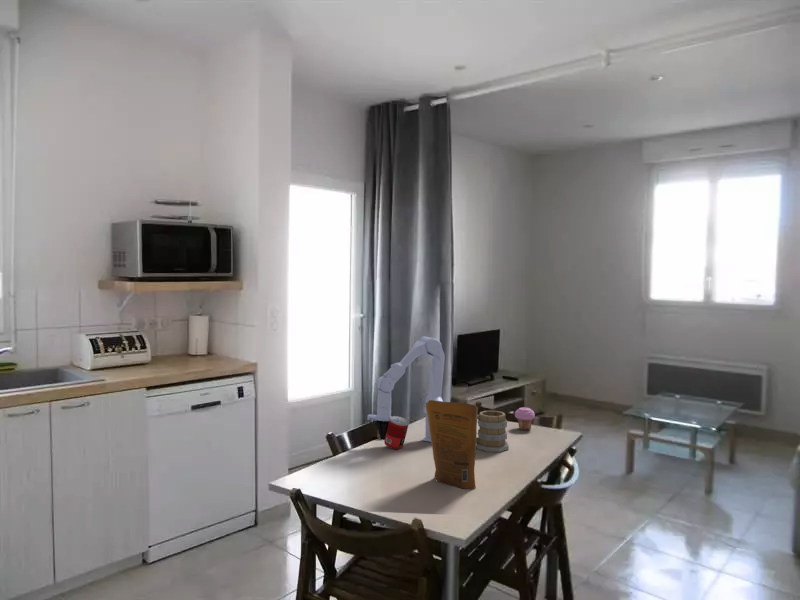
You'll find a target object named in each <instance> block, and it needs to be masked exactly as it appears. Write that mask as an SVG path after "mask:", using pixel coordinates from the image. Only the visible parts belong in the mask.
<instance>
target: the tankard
mask: <svg viewBox="0 0 800 600" xmlns="http://www.w3.org/2000/svg"><path fill="white" fill-rule="evenodd" d="M477 425H478V427H479V429H477V436H476V449H477V450H479V449H480V451H483V450H484V452H486V451H487V452H486V453H502V452H505V451H508V450H509V443H508V441H506V440H507V439H508V432H507V430H506V428H507V427H508V421H507V418H506V413H505V411H504V412H503V411H498V410H483V411H480V412H479V414H477ZM504 450H505V451H504ZM501 451H502V452H501Z"/></svg>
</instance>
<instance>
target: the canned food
mask: <svg viewBox="0 0 800 600" xmlns="http://www.w3.org/2000/svg"><path fill="white" fill-rule="evenodd" d="M391 416H392V415H391ZM393 418H400V419H401V421H399V422H398V421H395V420H392V419H393ZM409 423H410V422H409V420H408V419H407V418H405V417H402V416H397V415H393V416H392V417H390V420H389V423H388V428H387V432H386V436H385V440H383V441H384V445H385V446H386V447H387V448H389V449H394V450H401V449H403V447H404V445H405V444H404V443H405V439H406V435H407V432H408V429H409V425H410V424H409Z"/></svg>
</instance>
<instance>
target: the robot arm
mask: <svg viewBox="0 0 800 600" xmlns="http://www.w3.org/2000/svg"><path fill="white" fill-rule="evenodd" d="M442 345H443V344H442V342H441V341H440V340H439V339H437V338H436V337H435V338H434V337H429V336H425V335H424V336H421V337H420V338H418V340H417V341H415V343H414V344H413V346H412V347H411V349H409V351H408V352H407V353H406V354H405V355H404V356H403V358H402V359H401V360H400V362H395V363H392V364H391V365H390V368H389V369H388V370H387V371H386V372H383V375H382V376H379V377H378V378H377V380H376V382H375V383H374V385H375V387H376V388H377V396H376V397H377V398H376V399H377V401H376V402H377V405H376V406H377V407H376V411H377V412H376V413H377V414H370V413H369V414H368V415H367V416H366V417H367V421H376V422H375V423H374V424H375V427H376V429H378V431H379V434H380V438H379V439H380V440H381V441H384V440H385V436H386V432H387V428H388V423H389V420H390V417H392V391H393V390H394V388H395V384H396V383H397V382H398V381H399V380H400V379H401V378H402V376H403V375H405V373H406V368H408V367H409V365H411V363H413V362H414V361H415V359H416V358H418V357H419V356H422V355H428V356H429V358H431V367H430V377H429V387H428V388H429V389H428V396H427V397H426V398H425V403H424V404H423V407H422V412H423V414H424V415H425V434H424V435H425V437H424V438H422V439H421V441H422V442H430V443H431V437H430V431H429V425H428V417H427V412H426V403H428V402H429V400H434V401H442V402H444V400H443V397H442V394H443V382H444V372H445V371H444V370H445V362H446V361H445V359H446V357H445V356H446V355H445V352H444V350H443V347H442ZM392 420H395V421H398V422H399V421H401V419H400V418H393V419H392Z"/></svg>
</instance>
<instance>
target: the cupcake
mask: <svg viewBox="0 0 800 600" xmlns="http://www.w3.org/2000/svg"><path fill="white" fill-rule="evenodd" d="M535 414H536V413H535V412H534V410H533V409H532V408H530V407H524V406H523V407H519V408H518V409H516V410H515V412H514V418H516V419H517V423H518V427H519V430H524V431H525V430H526V431H529V430H532V421H533V420H534V419H535V417H536V416H535Z"/></svg>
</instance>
